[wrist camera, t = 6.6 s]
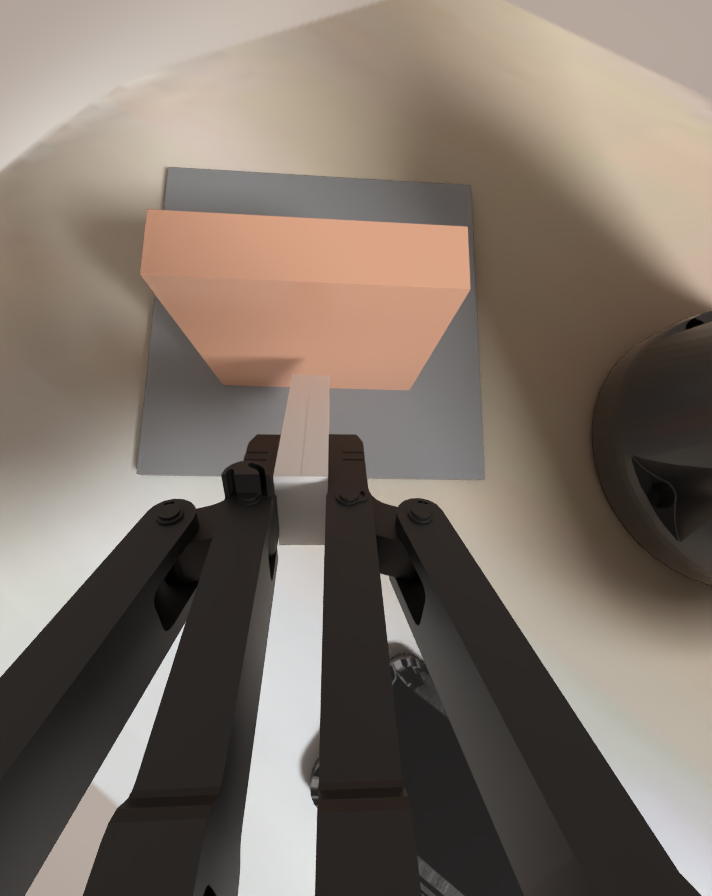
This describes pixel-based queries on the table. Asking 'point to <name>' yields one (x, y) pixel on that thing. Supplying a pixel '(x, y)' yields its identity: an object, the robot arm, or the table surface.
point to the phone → (442, 795)
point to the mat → (350, 410)
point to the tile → (307, 294)
